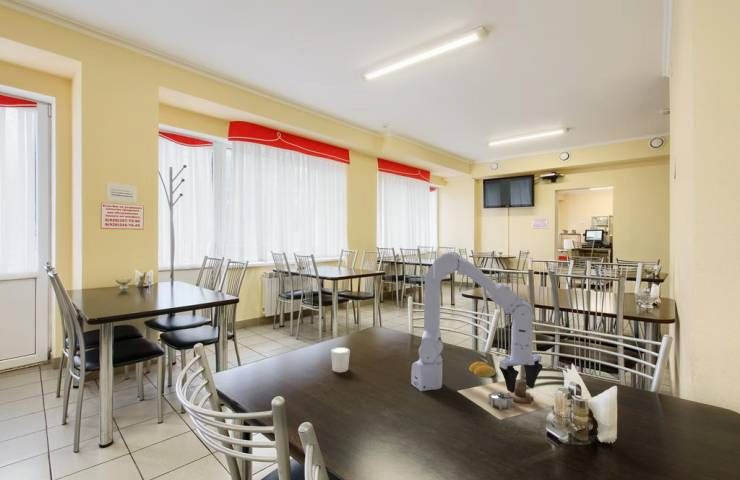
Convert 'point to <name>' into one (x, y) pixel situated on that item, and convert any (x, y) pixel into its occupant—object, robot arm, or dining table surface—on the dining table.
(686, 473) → the dining table surface
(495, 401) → the sun gear
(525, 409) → the carrier board
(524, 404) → the pink flat pad
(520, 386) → the planet gear
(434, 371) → the robot arm
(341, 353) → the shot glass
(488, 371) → the bread roll
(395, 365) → the dining table surface
